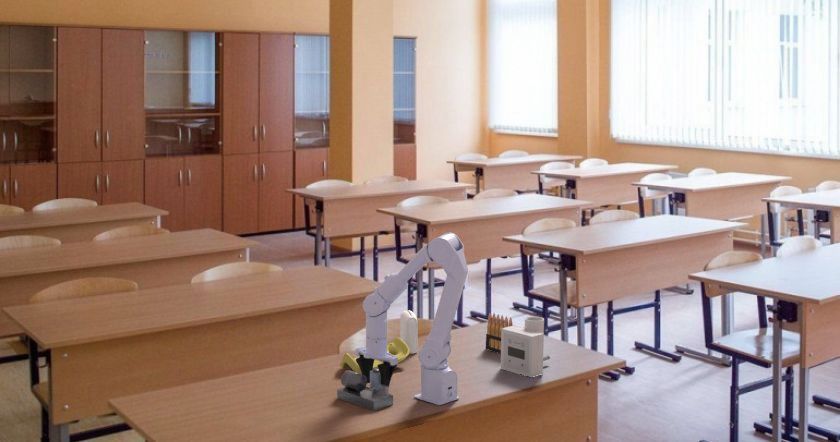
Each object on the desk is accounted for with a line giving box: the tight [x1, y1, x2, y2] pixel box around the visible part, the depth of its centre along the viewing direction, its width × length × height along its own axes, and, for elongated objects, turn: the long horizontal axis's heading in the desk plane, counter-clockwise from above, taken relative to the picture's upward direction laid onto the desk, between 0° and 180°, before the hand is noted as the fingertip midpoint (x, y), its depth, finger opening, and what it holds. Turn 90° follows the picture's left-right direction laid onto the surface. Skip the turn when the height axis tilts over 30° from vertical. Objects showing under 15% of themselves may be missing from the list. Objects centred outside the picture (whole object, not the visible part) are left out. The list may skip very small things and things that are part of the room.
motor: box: [336, 369, 394, 411], centre depth 260 cm, size 15×7×7 cm, turn 46°
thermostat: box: [500, 316, 551, 378], centre depth 290 cm, size 12×14×15 cm
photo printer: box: [399, 309, 419, 355], centre depth 310 cm, size 10×4×12 cm, turn 13°
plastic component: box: [339, 336, 410, 374], centre depth 291 cm, size 20×7×10 cm
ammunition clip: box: [485, 312, 513, 354], centre depth 308 cm, size 11×2×12 cm, turn 42°
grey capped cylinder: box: [369, 369, 381, 391], centre depth 269 cm, size 4×4×6 cm
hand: (376, 385), depth 269 cm, fingers open, 6 cm apart
